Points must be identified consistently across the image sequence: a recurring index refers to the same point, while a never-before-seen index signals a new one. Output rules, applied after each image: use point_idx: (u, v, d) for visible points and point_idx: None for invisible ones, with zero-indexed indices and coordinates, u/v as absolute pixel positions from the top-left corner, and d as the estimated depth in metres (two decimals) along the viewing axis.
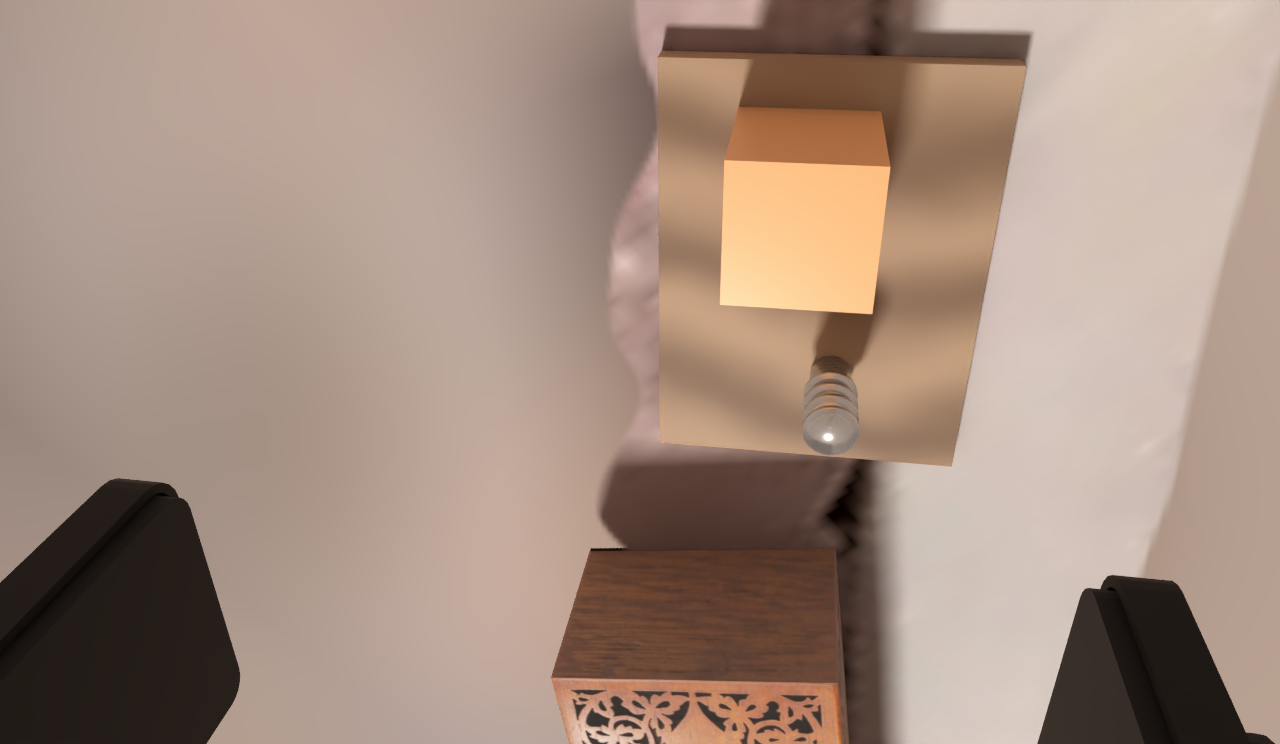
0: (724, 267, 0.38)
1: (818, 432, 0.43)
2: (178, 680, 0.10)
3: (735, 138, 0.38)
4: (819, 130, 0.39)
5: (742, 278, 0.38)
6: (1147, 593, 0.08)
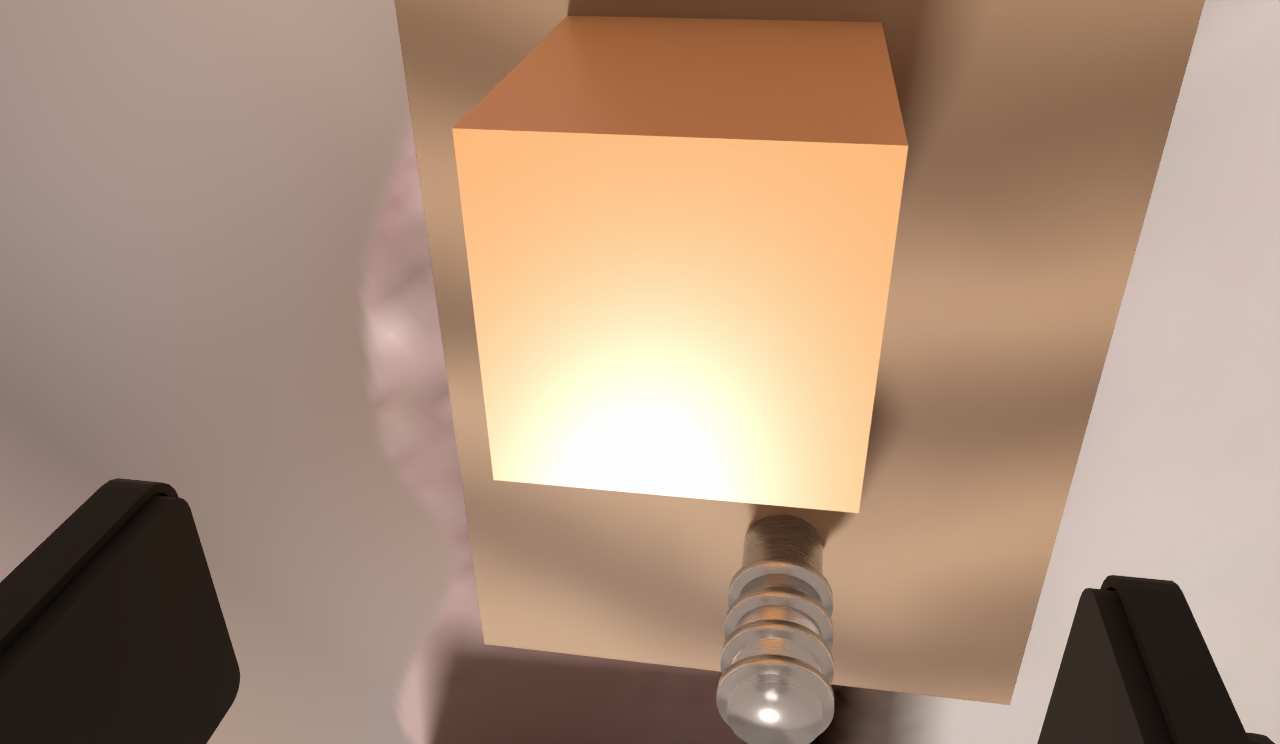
0: (492, 397, 0.15)
1: (747, 710, 0.21)
2: (178, 680, 0.10)
3: (517, 76, 0.15)
4: (732, 59, 0.16)
5: (538, 423, 0.16)
6: (1148, 593, 0.08)
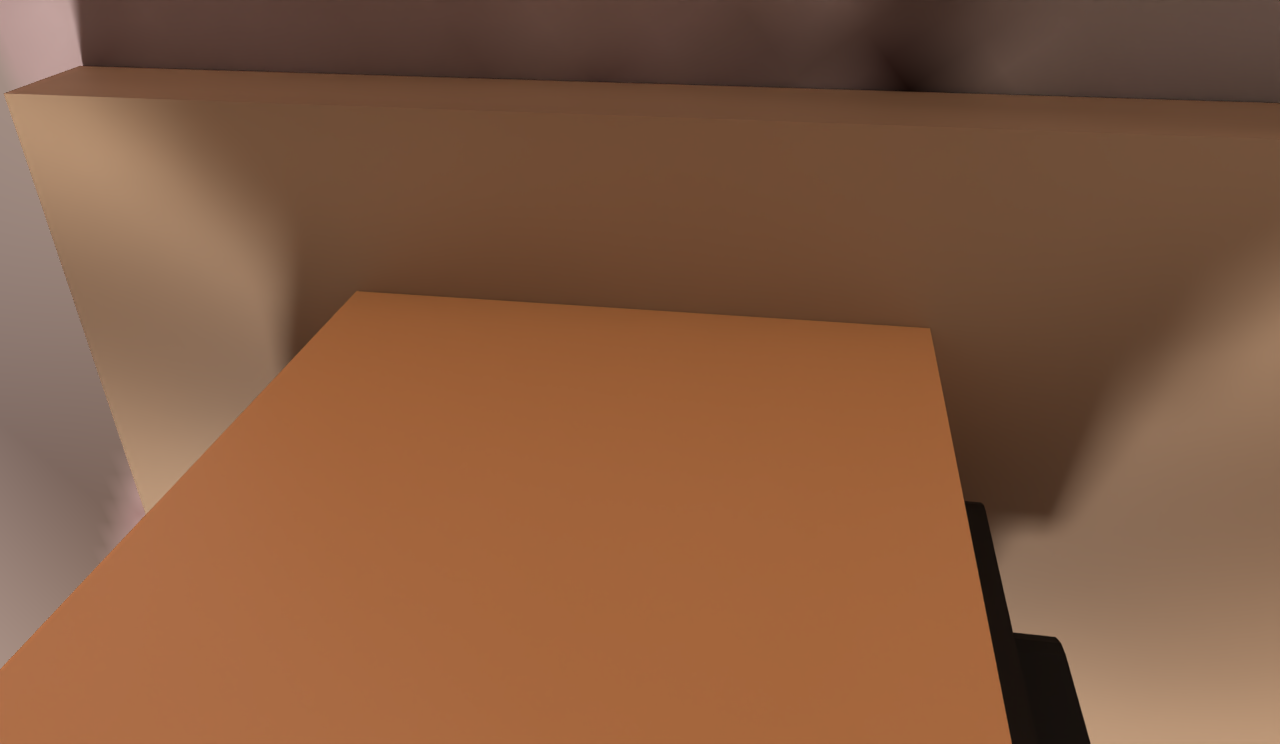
0: None
1: None
2: None
3: (124, 568, 0.07)
4: (624, 490, 0.07)
5: None
6: None
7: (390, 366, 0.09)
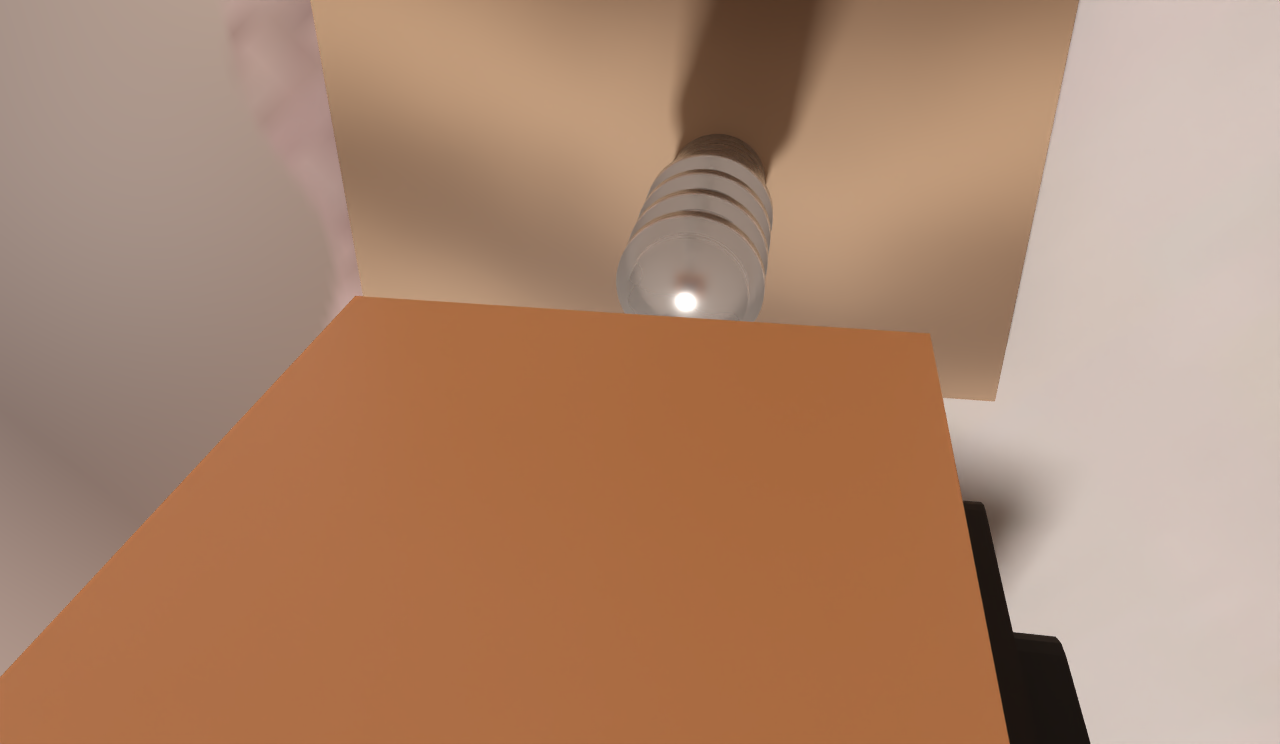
0: None
1: (653, 284, 0.16)
2: None
3: (123, 576, 0.07)
4: (622, 499, 0.07)
5: None
6: None
7: (389, 372, 0.09)
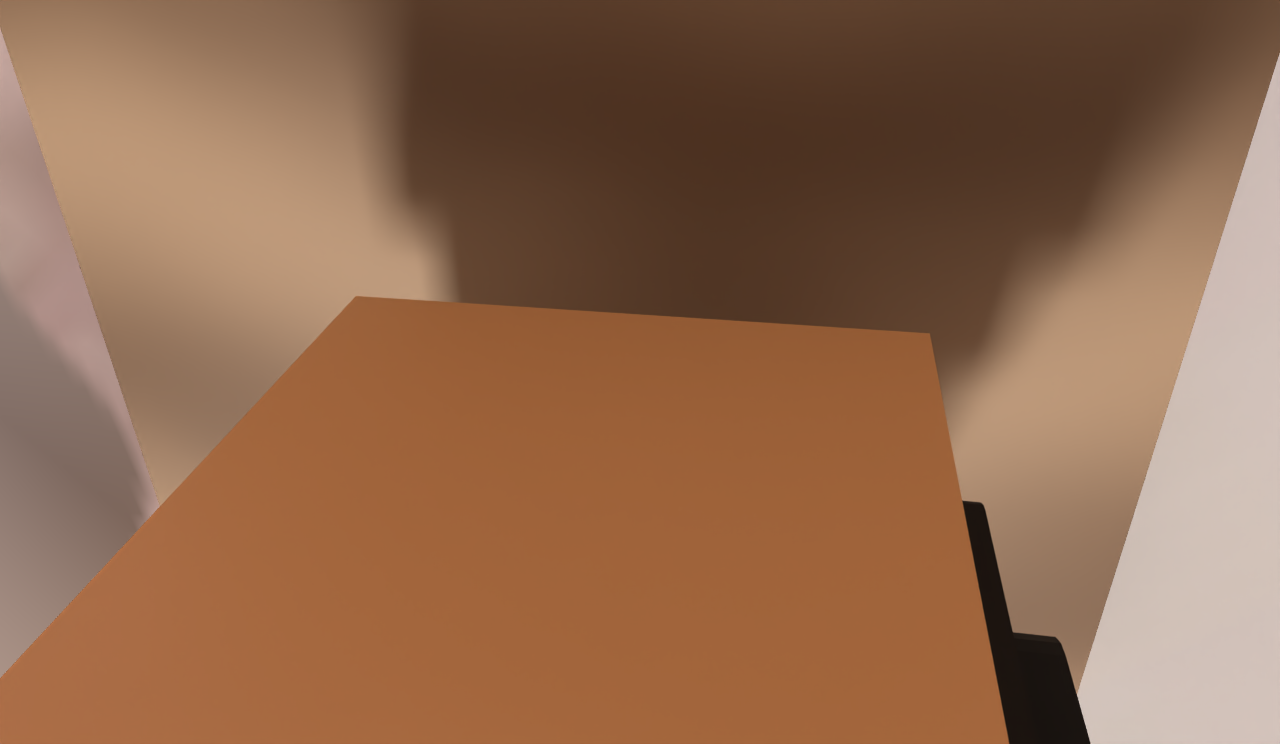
0: None
1: None
2: None
3: (124, 577, 0.07)
4: (622, 497, 0.07)
5: None
6: None
7: (390, 372, 0.09)
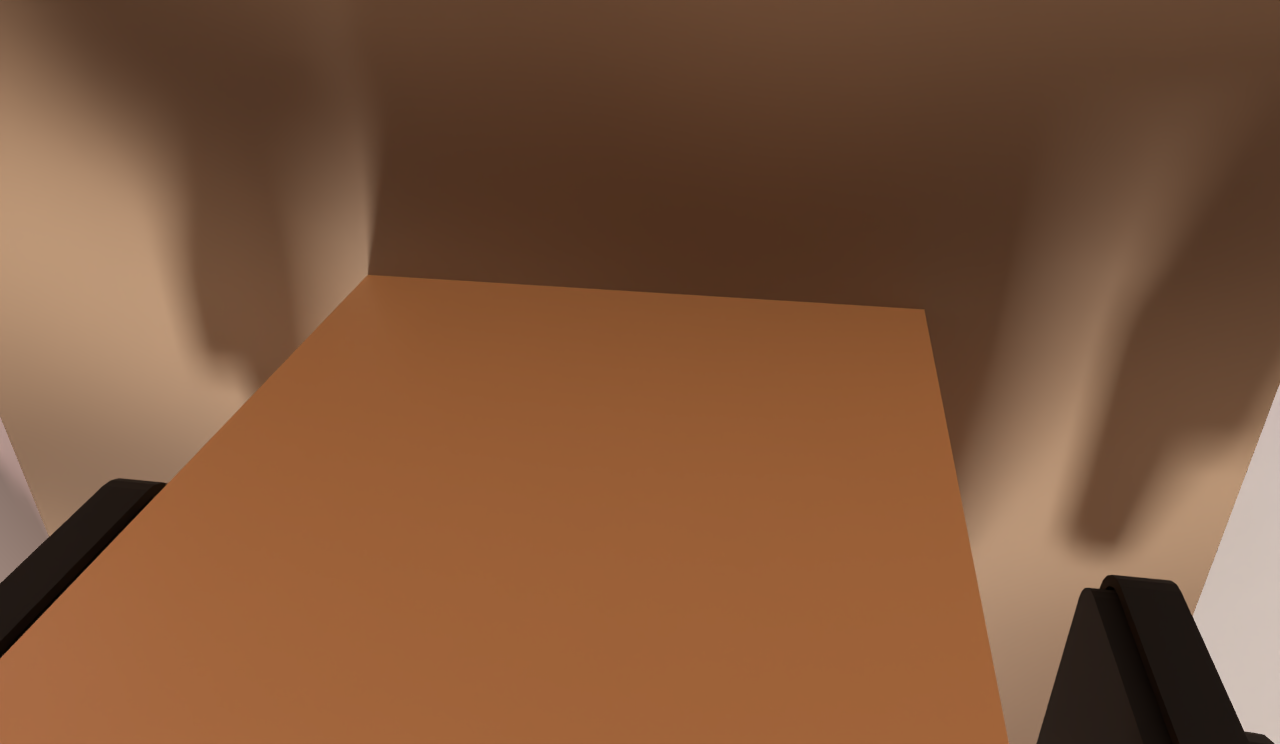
0: None
1: None
2: None
3: (152, 529, 0.07)
4: (629, 458, 0.08)
5: None
6: (1146, 592, 0.08)
7: (402, 344, 0.09)
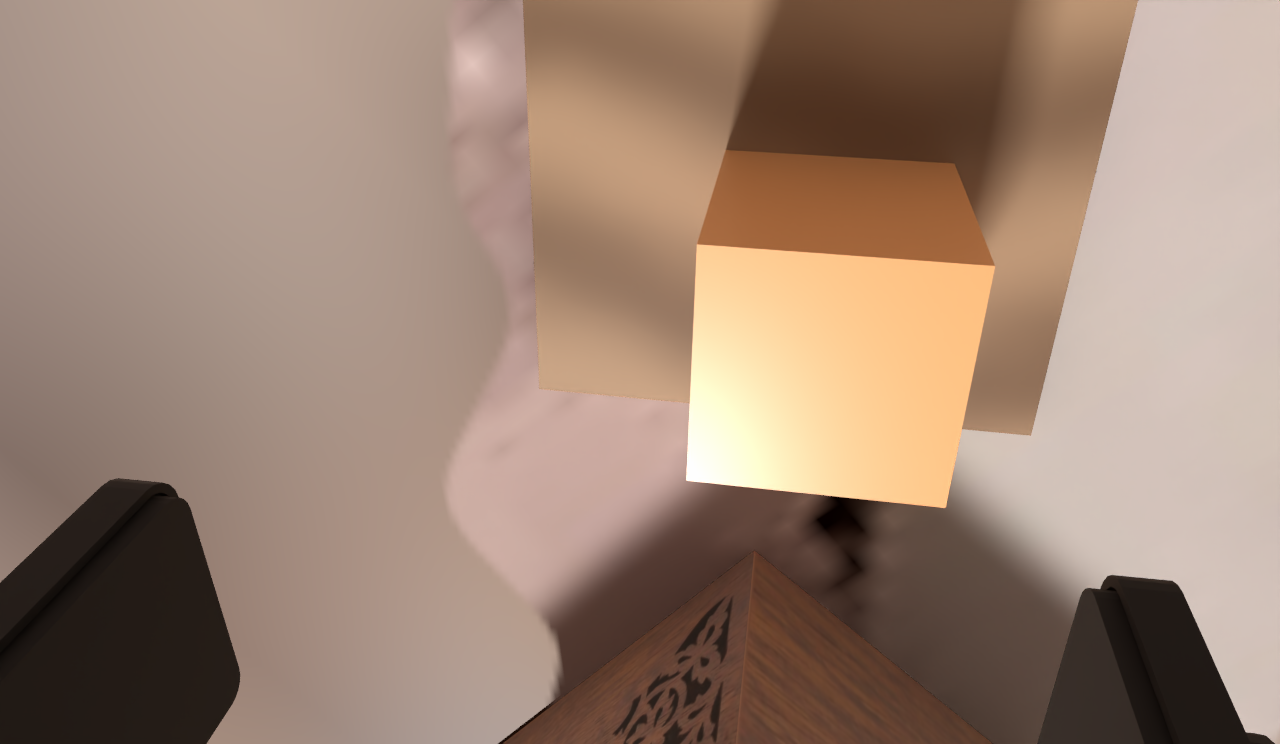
0: (694, 422, 0.22)
1: None
2: (178, 680, 0.10)
3: (718, 203, 0.23)
4: (860, 193, 0.23)
5: (725, 441, 0.23)
6: (1147, 593, 0.08)
7: (758, 168, 0.25)
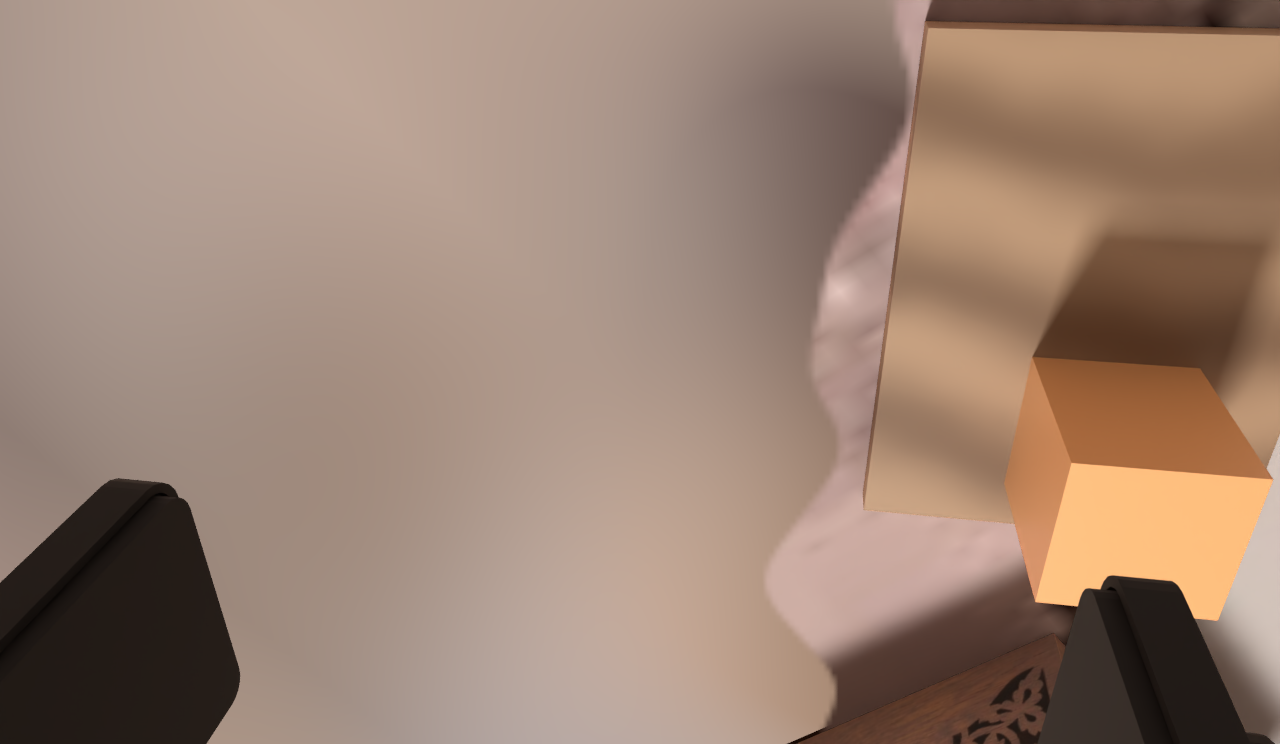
0: (1048, 566, 0.34)
1: None
2: (178, 680, 0.10)
3: (1061, 419, 0.34)
4: (1150, 405, 0.34)
5: (1068, 578, 0.34)
6: (1147, 593, 0.08)
7: (1067, 378, 0.36)
